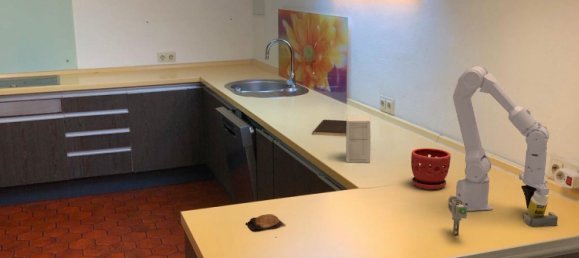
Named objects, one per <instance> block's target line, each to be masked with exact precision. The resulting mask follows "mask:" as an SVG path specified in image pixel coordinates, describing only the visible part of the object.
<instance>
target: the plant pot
mask: <svg viewBox="0 0 579 258" xmlns="http://www.w3.org/2000/svg"><path fill="white" fill-rule="evenodd" d="M410 161H411V162H410V166H411V172H412V174H413V177H412V178H411V182H412V184H414V186H416V187H418V188H419V189H424V190H437V189H441V188H444V186H446V184H447V180H446V177H447V176H448V174H449V169H450V167H451V153H450V152H449V151H446V150H443V149H439V148H432V147H431V148H428V147H425V148H424V147H423V148H421V147H420V148H416V149H413V150H412V151H411V156H410Z"/></svg>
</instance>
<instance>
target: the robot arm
mask: <svg viewBox="0 0 579 258" xmlns="http://www.w3.org/2000/svg"><path fill="white" fill-rule="evenodd" d="M503 87H504V86H502V85H501V84H500V82H499V81H498V79H497V78H495V76H494V74H492V73H491V72H489V71H488V69H487V68H486V67H485V66H483V65H481V64H480V65H479V64H477V65H473V66H471V67H470V68H469V69H467V70H465V71H463V73H462V74H461V75H460V76H459V77H458V79H457V84H456V86H455V88H454V91H453V94H452V100H453V105H454V107H455V112H456V117H457V121H458V124H459V129H460V133H461V138H462V141H463V146H464V149H465V158H464V161H465V162H464V163H465V169H464V176H465V178H463V179H459V180H457V182H456V185H455V186H456V188H455V191H456V192H455V196H456V197H457V198H458V200H462V201H463V202H464V204H465V205H466V206H467V212H471V211H489V210H490V211H491V210H493V209H494V208H493V207H492V206H491V205H490V204H489V190H490V177H489V175H488V173H489V172H490V170H491V169H492V162H491V160H490V158H489V157H488V156H487V153H486V151H485V149H484V148H483V146H482V141H481V138H480V137H481V136H480V133H479V129H478V125H477V121H476V116H475V112H474V107H473V103H472V97H473V96H474V94H475V93H476V92H477V90H478V89H479V90H478V92H479V93H484V94H485V93H486V94H489V95H490V96H491V97H492V98H494V99H495V101H496V102H498V103H499V105H501V107H502V108H503V109H504V110H505V111H506V112H507V113H508V117H507V118H508V121H510V122H511V123H512V125H513V126H514V127H515V128H516V129H517V130H518V132H519V133H520V134H521V135H522V136H524V137H525V138H524V139H525V143H526V151H525V157H524V158H525V161H524V169H523V171H524V172H519V174H518V179H519V180H521V181H522V183H523V184H524V185H521V190H522V192H523V195H524V200H525V204H526V209H527V210H528V207H529V203H530V200H531V197H532V196H533V195H534V192H535V191H536V190H538V191H539V192H541V195H549V193H550V188H549V187H548V186H547V183H548V180H547V179H546V178H545V174H546V164H547V154H548V152H547V149H548V146H547V143H548V140H549V139H550V132H549V130H548V129H547V126H545V125H544V124H543V123H542V122H541V121H538V120H537V119H536V118H535V117H534V116H533V115H532V110H531V109H530V108H526V107H525V106H522V105H521V106H520V105H518V104H517V103H516V101H514V99H513V98H512V97H511V96H510V95H509V93H508V92H507V91H506V90H505V88H503Z"/></svg>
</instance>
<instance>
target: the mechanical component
mask: <svg viewBox="0 0 579 258" xmlns="http://www.w3.org/2000/svg"><path fill="white" fill-rule="evenodd" d="M447 203H448V211H449V212H450V213H451V214H452V218H451V219H452V221H453V227H452V235H453V236H455V235H457V236H460V235H459V234H460V233H459V232H460V222H461V221H462V220H463V219H467V214H468V211H467V206H466V205H465V204H464V202H463V201H462V200H458V198H457V197H456V195H451V196H449V197H448V202H447Z"/></svg>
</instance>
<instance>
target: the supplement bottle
mask: <svg viewBox="0 0 579 258" xmlns="http://www.w3.org/2000/svg"><path fill="white" fill-rule="evenodd" d="M548 199H549V194H548V195H541V192H539V191H538V190H536V191H535V192H534V195H533V196H532V197H531V200H530V203H529V207H528V209H527V210H526V213H528V214H529V215H530V216H545V214H546V210H547V207H548V203H549V201H548Z"/></svg>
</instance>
